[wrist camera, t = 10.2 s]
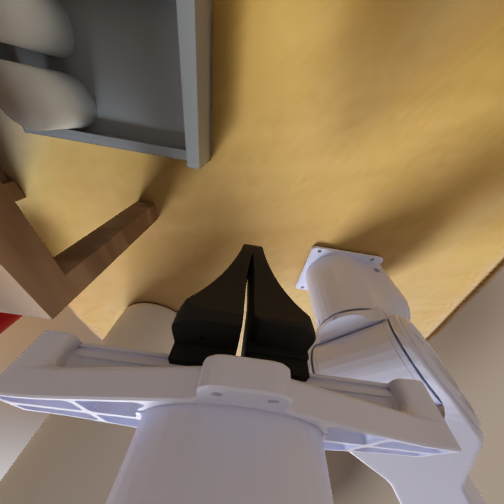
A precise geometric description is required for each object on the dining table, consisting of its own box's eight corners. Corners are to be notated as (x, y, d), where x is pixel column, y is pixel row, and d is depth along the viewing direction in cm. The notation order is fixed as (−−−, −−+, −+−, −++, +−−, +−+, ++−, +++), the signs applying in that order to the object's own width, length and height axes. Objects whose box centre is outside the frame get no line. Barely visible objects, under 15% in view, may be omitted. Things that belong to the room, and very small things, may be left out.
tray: (212, -4, 12) (184, -66, 8) (211, 159, 18) (194, 172, 14) (-38, -57, 12) (-209, -153, 7) (47, 130, 18) (-21, 135, 13)
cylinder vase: (137, 332, 41) (15, 537, 21) (115, 297, 33) (-106, 565, 14) (191, 338, 41) (121, 549, 21) (182, 304, 33) (58, 585, 13)
